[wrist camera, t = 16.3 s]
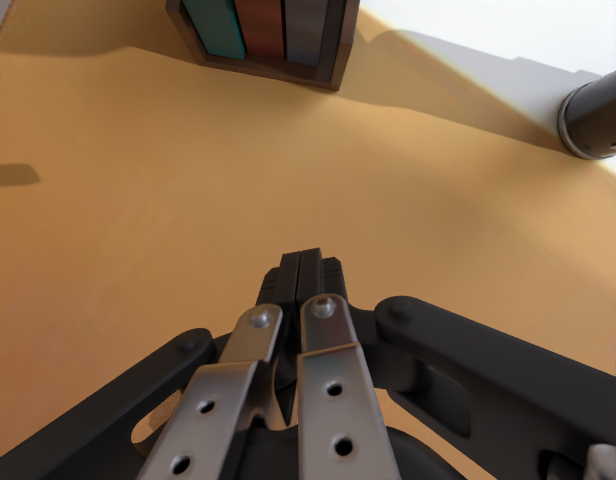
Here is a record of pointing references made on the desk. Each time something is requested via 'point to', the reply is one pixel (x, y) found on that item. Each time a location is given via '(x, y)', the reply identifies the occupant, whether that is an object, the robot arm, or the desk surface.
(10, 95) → the desk surface
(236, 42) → the book
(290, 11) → the book rack
